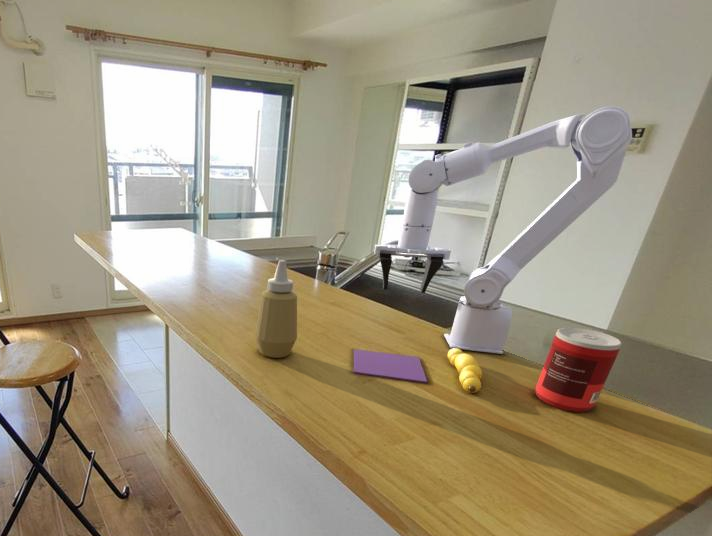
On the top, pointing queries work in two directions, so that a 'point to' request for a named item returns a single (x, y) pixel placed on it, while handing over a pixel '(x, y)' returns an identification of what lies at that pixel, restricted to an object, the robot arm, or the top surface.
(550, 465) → the top surface
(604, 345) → the canned food
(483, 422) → the top surface
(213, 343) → the top surface
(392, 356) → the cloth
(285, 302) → the squeeze bottle
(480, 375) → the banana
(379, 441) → the top surface
